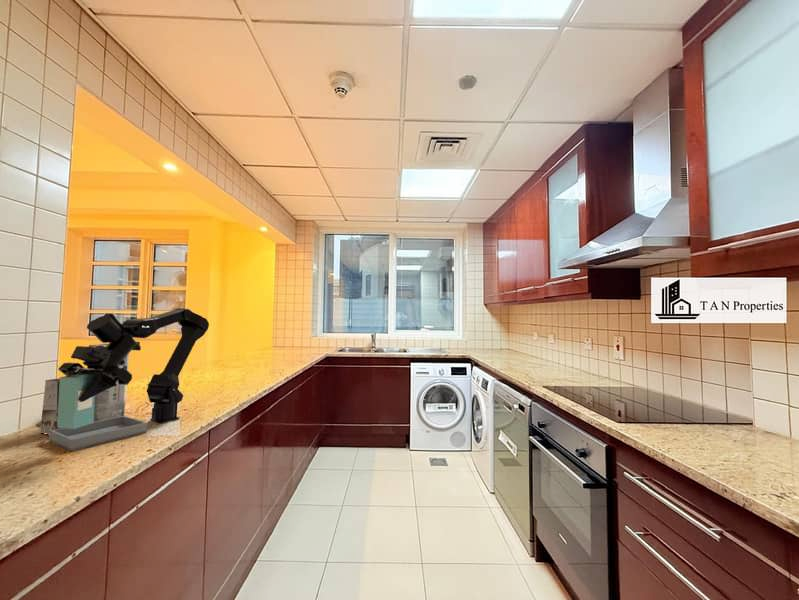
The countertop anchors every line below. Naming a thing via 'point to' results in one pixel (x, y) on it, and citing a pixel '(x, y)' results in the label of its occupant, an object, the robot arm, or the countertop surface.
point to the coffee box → (50, 406)
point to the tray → (97, 433)
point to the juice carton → (110, 398)
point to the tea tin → (75, 402)
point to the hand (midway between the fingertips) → (71, 400)
